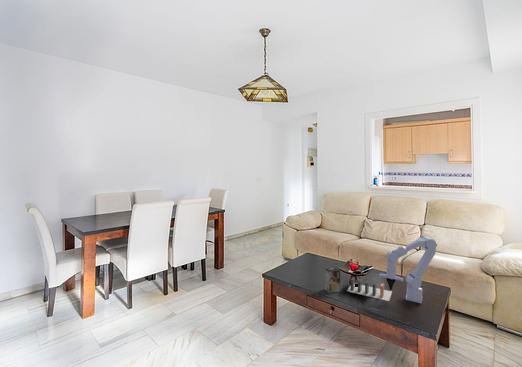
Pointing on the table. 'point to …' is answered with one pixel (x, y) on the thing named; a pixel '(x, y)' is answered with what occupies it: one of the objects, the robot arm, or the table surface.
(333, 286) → the coffee box
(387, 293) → the grey mat
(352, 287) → the domino
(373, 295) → the domino
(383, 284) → the domino
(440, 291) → the table surface
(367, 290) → the domino
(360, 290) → the domino
